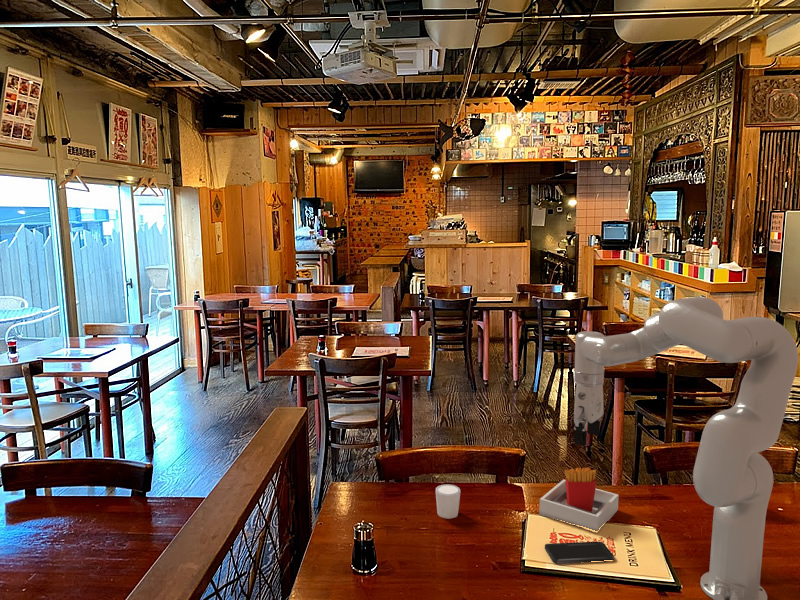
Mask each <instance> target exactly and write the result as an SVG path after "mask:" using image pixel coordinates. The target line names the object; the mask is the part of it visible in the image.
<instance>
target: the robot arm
mask: <svg viewBox="0 0 800 600" xmlns="http://www.w3.org/2000/svg"><path fill="white" fill-rule="evenodd" d="M659 311H660V312H657V313H655V314H652V315H650V316H649V317H647V318H646V319H645V321H644V323H643V327H640V328H639V329H636V330H633V331H631V332H628V333H627V332H626V333H621V334H614V335H607V336H605V335H604V334H603V333H601V332H598V331H592V330H590V331H588V330H587V331H580V332H578V333H576V335H575V345H574V347H575V350H574V376H573V377H574V384H576V387H575V395H574V406H573V407H574V408H573V410H574V411H573V426H574V427H573V430H574V435H573V436H574V437H573V439H574V440H573V443H574V444H575V445H578V446H584V447H585V446H587V444H588V443H587V442H588V440H587V439H588V435H593V436H599V435H600V433H601V429H600V428H601V427H600V426H601V421H600V420H601V417H602V416H603V415H604V387H603V386H604V383H605V381H604V380H605V377H604V376H605V367H612V366H618V365H623V364H628V363H629V364H630V363H635V362H639V361H641V360H643V359H646V358H650V357H652V356H655V355H658V354H660V353H663V352H665V351H667V350H668V349H671V348H674V347H677V346H679V345H684V346H685V347H687V348H689V349H691V350H693V351H695V352H697V353H699V354H702V355H704V356H706V357H708V358H710V359H712V360H714V361H717V362H721V363H725V364H733V363H734V364H735V363H741V362H745V361H751V362H750V364H749V365H750V366H749V367H748V369H747V370H746V373H745V374H744V375H743V378H742V380H741V383H740V388H739V392H738V395H737V398H736V401H735V404H734V405H733V406H732V407H730V408H728V409H724V410H721V411H719V412H717V413H715V414H713V415H712V416H710V418H709V420H707V422H706V424H705V426H704V428H703V431H702V434H701V437H700V438H701V439H700V443H699V446H698V451H697V454H696V458H695V463H694V466H693V472H692V473H693V474H692V480H693V486H694V488H695V491H696V493H697V495H698V497H699V498H700V499H701V500H702V501H703V502H705V503H706V504H708V505H709V506H712V507H714V508H713V517H712V532H711V544H710V546H711V547H710V555H709V556H710V557H709V558H710V559H709V560H710V561H709V571H707V572H705V573H703V574H702V576H701V577H700V582H699V583H700V587H701V589H702V591H703V592H704V593H705V595H707V596H708V597H709V598H711V599H712V600H768V594H767V592H766V590H765V589H764V588H763V587H762V586H761V575H762V574H761V573H762V571H761V570H762V562H763V561H762V560H763V550H764V549H763V548H764V539H765V538H764V537H765V527H766V518H767V517H766V516H767V510H768V506H769V501H770V499H771V498H770V497H771V493H772V491H773V486H774V485H773V484H774V473H773V470H772V467H771V465H770V462H768V460H767V459H766V458H765V456H763V455H762V454H760V453H761V452H763V451H767V450H768V449H770V448H771V447H773V446H775V444H776V442H777V441H778V439H779V435H780V433H781V429H782V425H783V421H784V418H785V414H786V410H787V408H788V407H787V406H788V401H789V398H790V394H791V390H792V387H793V384H794V381H795V377H796V374H797V370H798V364H799V353H798V347H797V343H796V342H795V340H794V338H793V336H792V334H791V333H790V332H789V330H788V329H787V328H786V327H784V326H783V324H781V323H779V322H778V321H776V320H774V319H771V318H769V317H763V316H747V317H740V318H735V319H728V320H727V319H724V311H723V309H722V307H721V306H720V305H719V303H717V302H716V301H715V300H713V299H711V298H709V297H704V296H697V297H687V298H685V297H684V298H678V299H674V300H670V301H669V302H667V303H666V304H664V306H663V307H662V308H661V310H659ZM586 429H587V430H586Z"/></svg>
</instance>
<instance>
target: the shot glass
mask: <svg viewBox="0 0 800 600" xmlns="http://www.w3.org/2000/svg"><path fill="white" fill-rule="evenodd" d="M460 497H461V489H460V487H458V486H457V485H455V484H449V483H448V484H447V483H446V484H441V485H438V486H437V487H435V499H436V511H437V512H436V513H437V515H438V516H439V517H440V518H443V519H449V520H450V519H453V518H457V517H458V515H459V508H460V507H459V506H460V500H461V498H460Z"/></svg>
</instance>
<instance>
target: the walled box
mask: <svg viewBox="0 0 800 600" xmlns="http://www.w3.org/2000/svg"><path fill="white" fill-rule="evenodd" d="M619 497H620V496H619V494H617V493H614V492H610V491H606V490H602V489H598V488H596V489H595V495H594V502H593V509H592V511H591V512H590V511H586V510H583V509H580V508H577V507H573V506H570V505H567V493H566V479H564V478H563V479H562V480H561V481H560V482H558V483H557V484H556V485H555V486H553V487H552V488H551V489H550V490H549V491H548V492H546V493H545V494H544V495H543V496H541V498H539V510H538V511H539V512H538V515H539V516H542V517H545V516H546V518H548V517H550V518H549V519H551V518H554V519H558V520H562V521H565V522H568V523H571V524H575V525H579V526H583V527H586V528H589V529H592V530H595V531H598V530H599V528H600V527H601V526H602V525H603V524H604V523H606V522H607V521H608V522H609V521H610V520H611V518H612V517H613V516H614V515H615V514H616V513H617V511H618V510H619ZM554 519H553V520H554ZM606 524H607V523H606Z"/></svg>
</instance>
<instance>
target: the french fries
mask: <svg viewBox="0 0 800 600" xmlns="http://www.w3.org/2000/svg"><path fill="white" fill-rule="evenodd" d="M596 473H597V469H591V467H583V468H581V467H576V468H575V469H574V468H570V469H569V470H568V469H565V470H564V474H565V480H566V493H567V505H570V506H573V507H577V508H580V509H583V510H586V511H590V512H591V511H592V509H593V502H594V495H595V489H597V479H596Z"/></svg>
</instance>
